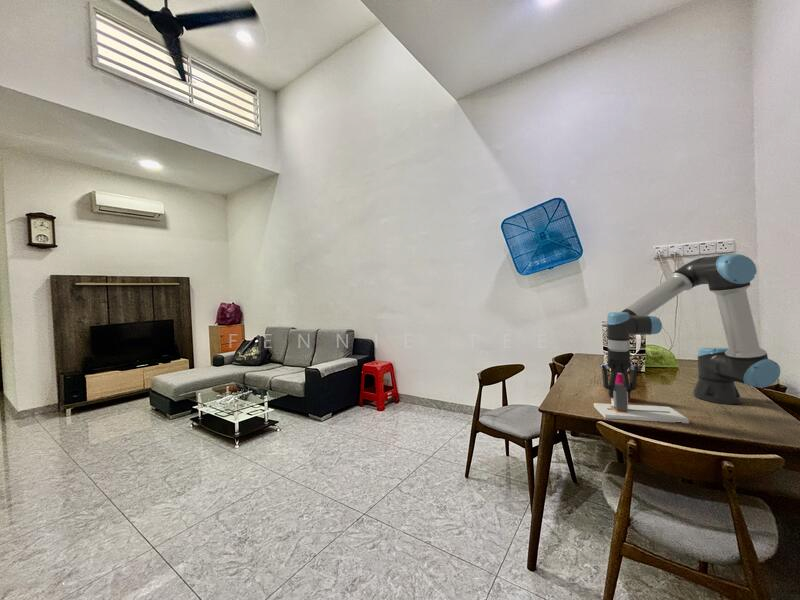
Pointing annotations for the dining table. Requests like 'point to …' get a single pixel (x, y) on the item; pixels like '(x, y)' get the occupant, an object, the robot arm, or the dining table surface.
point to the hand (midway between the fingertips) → (619, 405)
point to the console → (641, 413)
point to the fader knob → (620, 397)
